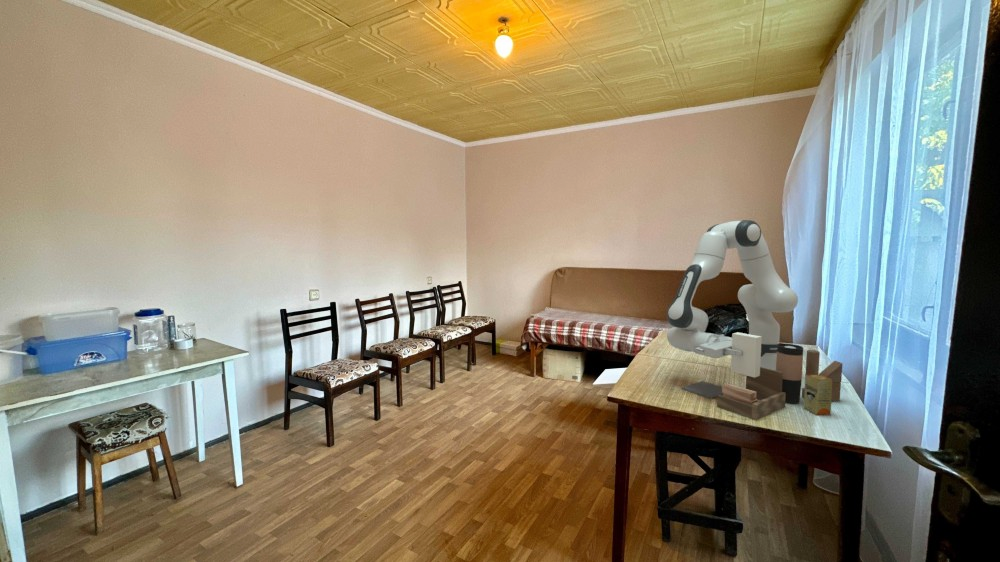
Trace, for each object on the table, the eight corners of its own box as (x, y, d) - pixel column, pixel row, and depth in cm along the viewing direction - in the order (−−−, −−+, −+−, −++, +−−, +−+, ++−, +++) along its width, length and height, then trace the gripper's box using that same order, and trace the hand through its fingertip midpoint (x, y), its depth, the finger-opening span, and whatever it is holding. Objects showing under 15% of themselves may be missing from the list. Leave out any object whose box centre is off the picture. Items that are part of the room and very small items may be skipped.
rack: (747, 395, 146) (748, 364, 145) (784, 406, 135) (786, 373, 134) (717, 406, 136) (718, 373, 134) (755, 420, 125) (757, 383, 124)
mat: (702, 382, 160) (702, 380, 160) (732, 391, 150) (732, 390, 149) (681, 388, 153) (681, 387, 153) (711, 398, 142) (711, 397, 142)
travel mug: (769, 396, 145) (772, 343, 143) (790, 396, 145) (793, 343, 143) (783, 404, 137) (786, 348, 135) (805, 404, 137) (809, 348, 135)
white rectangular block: (736, 369, 143) (737, 332, 142) (759, 375, 136) (761, 336, 135) (730, 371, 141) (732, 333, 140) (754, 377, 134) (756, 337, 133)
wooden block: (840, 402, 139) (843, 352, 138) (808, 401, 140) (811, 352, 138) (832, 398, 143) (835, 350, 141) (801, 397, 144) (804, 349, 142)
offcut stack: (727, 404, 138) (728, 383, 137) (757, 414, 129) (758, 392, 129) (720, 406, 136) (721, 385, 135) (751, 417, 127) (752, 394, 127)
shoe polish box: (815, 415, 128) (818, 379, 127) (803, 409, 133) (805, 374, 132) (830, 415, 128) (832, 379, 127) (817, 408, 133) (819, 374, 132)
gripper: (691, 340, 144) (729, 348, 133) (722, 333, 155) (760, 340, 143) (691, 356, 145) (729, 366, 133) (722, 348, 155) (759, 356, 144)
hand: (745, 352), depth 138 cm, fingers closed on white rectangular block, 3 cm apart
